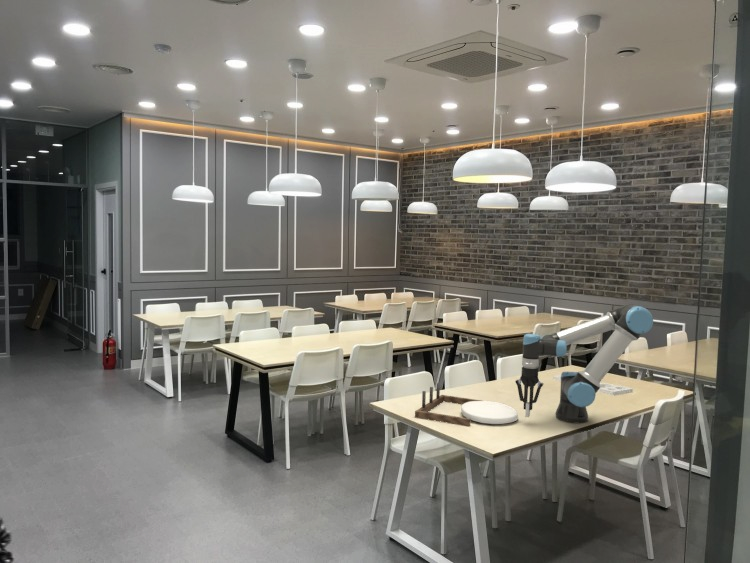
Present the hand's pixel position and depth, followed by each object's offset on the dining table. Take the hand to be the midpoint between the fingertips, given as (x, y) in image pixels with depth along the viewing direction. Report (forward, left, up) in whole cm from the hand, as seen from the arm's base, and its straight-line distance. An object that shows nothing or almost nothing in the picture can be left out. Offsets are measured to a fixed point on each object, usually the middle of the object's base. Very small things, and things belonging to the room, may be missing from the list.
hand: (527, 416), depth 273 cm
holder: (-17, -101, -4) cm, 103 cm away
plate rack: (+36, 0, -4) cm, 36 cm away
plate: (+19, 0, -4) cm, 19 cm away
